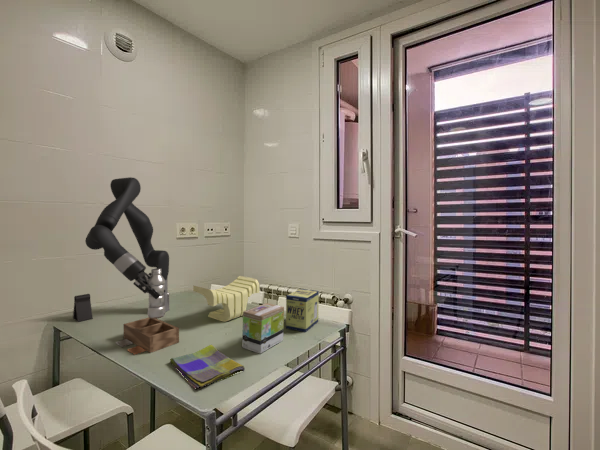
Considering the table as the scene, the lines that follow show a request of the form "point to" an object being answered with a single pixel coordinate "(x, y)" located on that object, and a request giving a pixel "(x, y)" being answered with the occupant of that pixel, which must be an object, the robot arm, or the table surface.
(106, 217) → the robot arm
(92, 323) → the table surface
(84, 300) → the black coffee bag
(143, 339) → the box
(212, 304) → the slatted curved stool
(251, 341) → the tea box
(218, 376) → the dish towel
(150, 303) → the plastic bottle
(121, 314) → the table surface
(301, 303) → the protein box
